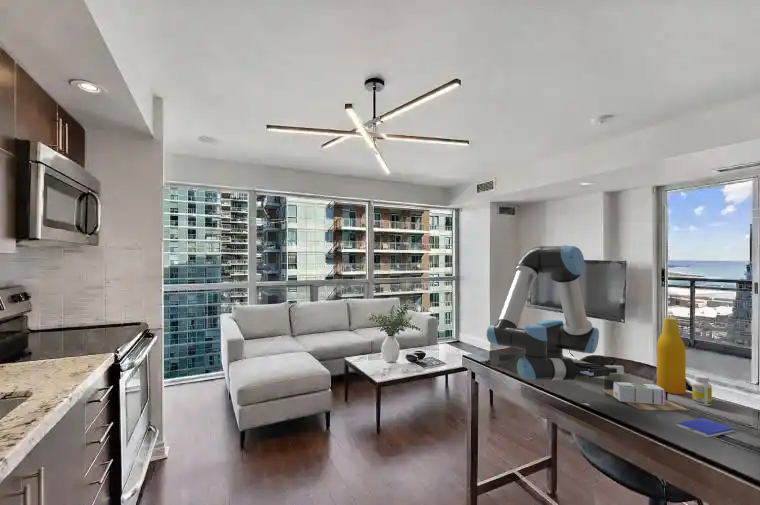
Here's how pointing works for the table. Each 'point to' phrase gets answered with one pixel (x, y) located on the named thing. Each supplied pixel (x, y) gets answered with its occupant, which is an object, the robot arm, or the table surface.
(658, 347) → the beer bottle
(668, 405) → the wooden board
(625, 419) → the table surface
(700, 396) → the supplement bottle
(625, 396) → the syrup box
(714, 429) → the hard drive
